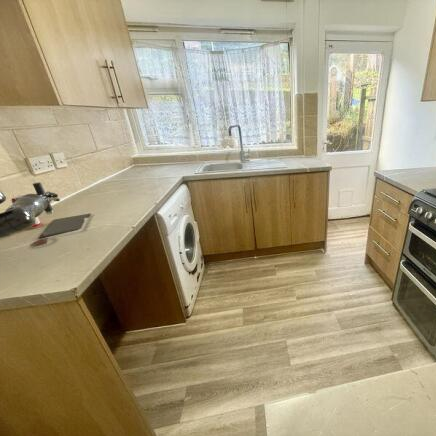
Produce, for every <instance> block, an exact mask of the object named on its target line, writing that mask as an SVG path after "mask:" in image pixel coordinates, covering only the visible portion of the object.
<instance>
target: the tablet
mask: <svg viewBox="0 0 436 436" xmlns="http://www.w3.org/2000/svg"><path fill="white" fill-rule="evenodd" d="M91 215H92V213H84V214H78V215H73V216H67V217H60V218H55V219H52V221H51V222H50V223H49V224H48V226H47V227H46V228H45V229H44V230H43V232H42V233H41V234H40V235H39V237H38V240H41V239H45V238H48V237H54V236H57V235H62V234H66V233H70V232H75V231H76V232H77V231H80V230H81V229H82V227H83V225H84V223H85V221H86V220H85V219H88V218H90V216H91Z"/></svg>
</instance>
